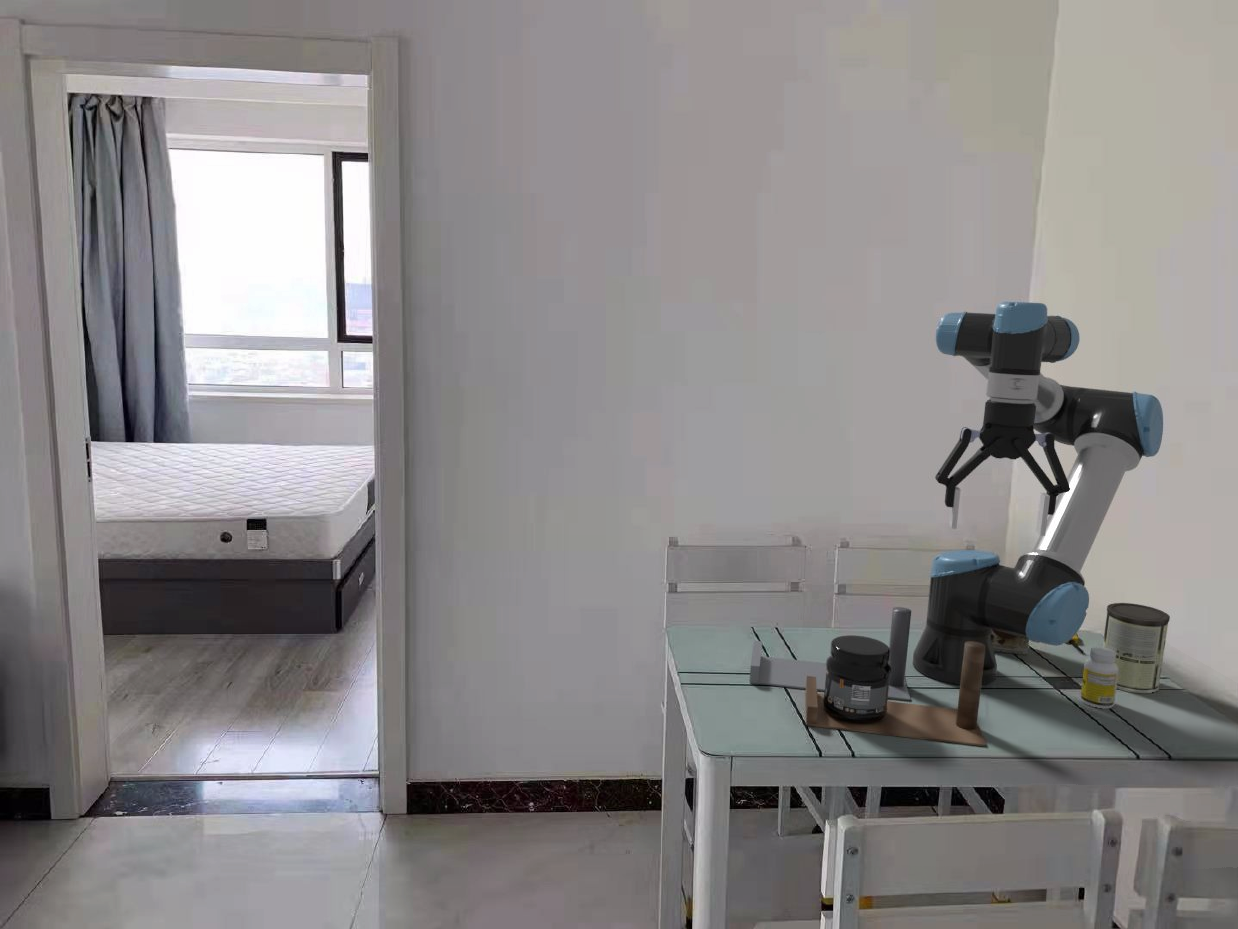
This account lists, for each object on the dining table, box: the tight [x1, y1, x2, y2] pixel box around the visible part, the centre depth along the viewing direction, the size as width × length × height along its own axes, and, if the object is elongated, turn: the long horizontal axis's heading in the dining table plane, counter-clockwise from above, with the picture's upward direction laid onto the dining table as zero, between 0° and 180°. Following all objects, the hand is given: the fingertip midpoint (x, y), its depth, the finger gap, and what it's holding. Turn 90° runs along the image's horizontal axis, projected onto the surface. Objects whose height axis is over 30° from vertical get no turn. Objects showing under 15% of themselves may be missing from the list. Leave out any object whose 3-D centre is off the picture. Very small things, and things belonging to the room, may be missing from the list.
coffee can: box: [1102, 602, 1171, 694], centre depth 176 cm, size 10×10×14 cm
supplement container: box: [823, 634, 891, 724], centre depth 157 cm, size 10×10×12 cm
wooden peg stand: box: [804, 641, 987, 747], centre depth 156 cm, size 28×13×14 cm, turn 79°
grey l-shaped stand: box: [749, 606, 912, 702], centre depth 172 cm, size 28×13×14 cm, turn 79°
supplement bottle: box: [1080, 646, 1118, 710], centre depth 167 cm, size 5×5×10 cm
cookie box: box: [991, 628, 1030, 655], centre depth 192 cm, size 9×6×16 cm
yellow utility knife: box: [1066, 633, 1084, 654], centre depth 199 cm, size 5×2×15 cm
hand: (996, 530), depth 153 cm, fingers open, 13 cm apart
